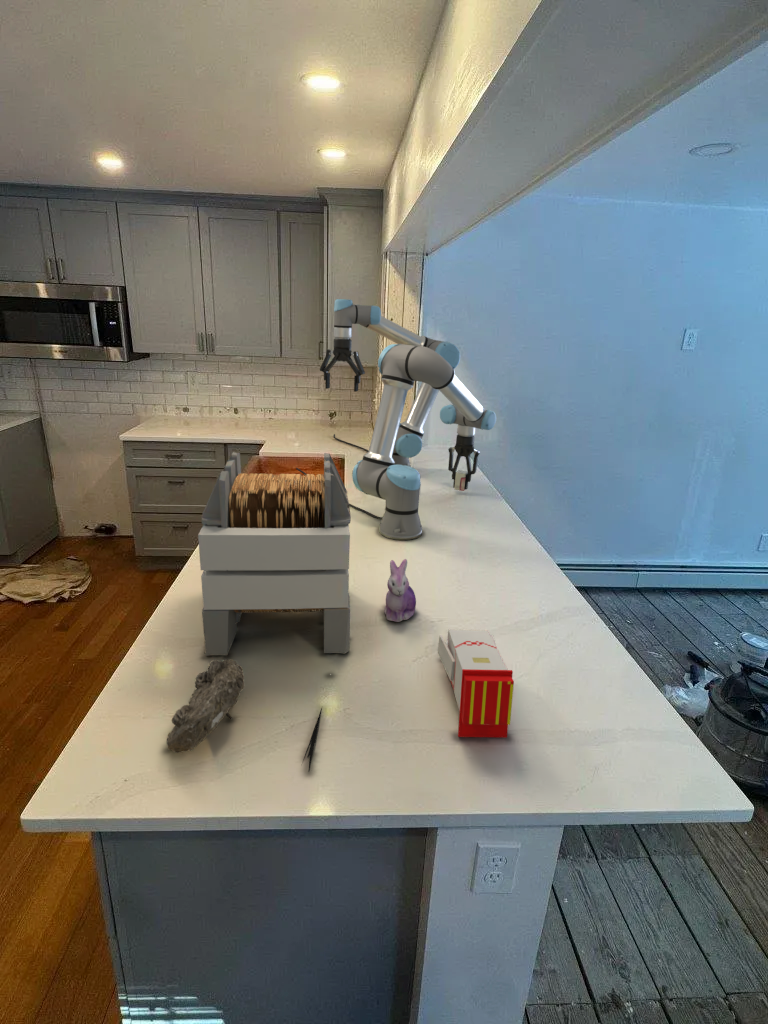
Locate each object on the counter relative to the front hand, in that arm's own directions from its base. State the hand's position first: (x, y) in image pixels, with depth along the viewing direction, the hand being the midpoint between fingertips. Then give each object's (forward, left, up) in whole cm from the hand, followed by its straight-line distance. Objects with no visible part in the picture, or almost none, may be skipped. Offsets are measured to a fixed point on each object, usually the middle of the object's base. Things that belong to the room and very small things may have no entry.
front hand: (460, 487), depth 247 cm
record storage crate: (+45, -116, -3) cm, 125 cm away
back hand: (-44, -32, +38) cm, 67 cm away
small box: (0, 0, -1) cm, 1 cm away
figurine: (+61, -91, -3) cm, 110 cm away
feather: (+82, -130, -3) cm, 154 cm away
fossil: (+69, -146, -3) cm, 161 cm away
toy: (+94, -101, -3) cm, 138 cm away
